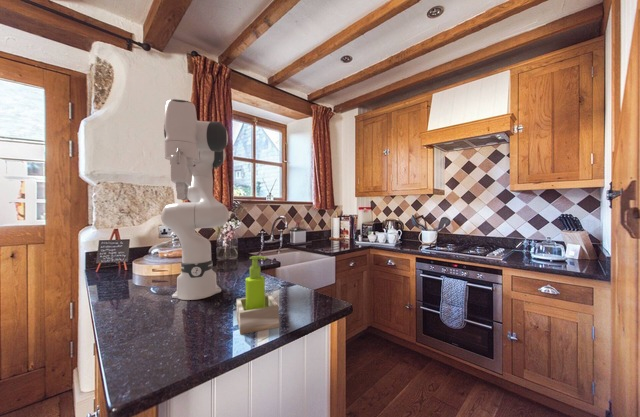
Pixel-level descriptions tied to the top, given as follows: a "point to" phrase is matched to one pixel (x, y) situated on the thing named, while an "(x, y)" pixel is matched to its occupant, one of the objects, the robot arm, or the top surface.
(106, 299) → the top surface
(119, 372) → the top surface
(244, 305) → the box
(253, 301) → the soap dispenser
